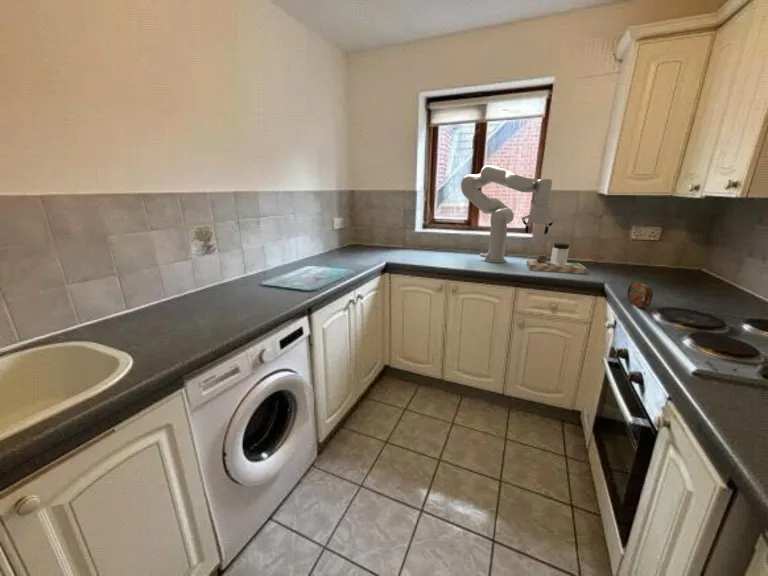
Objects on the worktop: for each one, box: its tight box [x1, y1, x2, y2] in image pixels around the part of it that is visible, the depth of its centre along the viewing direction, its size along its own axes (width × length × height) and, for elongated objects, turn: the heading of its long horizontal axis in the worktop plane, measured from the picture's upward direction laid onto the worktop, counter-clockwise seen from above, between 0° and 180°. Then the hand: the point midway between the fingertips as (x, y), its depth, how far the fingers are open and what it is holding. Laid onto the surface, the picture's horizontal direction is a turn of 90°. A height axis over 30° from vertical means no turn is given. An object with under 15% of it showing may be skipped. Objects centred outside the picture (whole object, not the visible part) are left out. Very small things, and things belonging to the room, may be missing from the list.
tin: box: [626, 281, 654, 309], centre depth 128 cm, size 15×3×8 cm, turn 163°
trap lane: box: [525, 260, 588, 275], centre depth 185 cm, size 28×13×3 cm, turn 75°
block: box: [536, 254, 547, 263], centre depth 188 cm, size 4×4×4 cm
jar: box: [549, 242, 570, 263], centre depth 199 cm, size 9×8×12 cm
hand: (535, 233), depth 186 cm, fingers open, 9 cm apart
